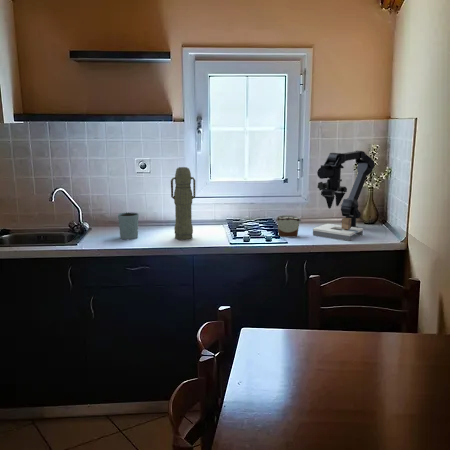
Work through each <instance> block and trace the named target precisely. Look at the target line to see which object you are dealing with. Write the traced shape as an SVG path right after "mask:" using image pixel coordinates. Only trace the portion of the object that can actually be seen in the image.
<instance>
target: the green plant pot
mask: <svg viewBox="0 0 450 450" xmlns="http://www.w3.org/2000/svg"><path fill="white" fill-rule="evenodd" d="M139 215H140V214H139V213H138V212H121V213H118V214H117V218H118V227H119V236H120V237H119V238H120V239H121V240H125V241H126V240H128V241H130V240H133V241H134V240H137V239H138V238H139Z"/></svg>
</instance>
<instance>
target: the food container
mask: <svg viewBox="0 0 450 450" xmlns="http://www.w3.org/2000/svg"><path fill="white" fill-rule="evenodd" d="M300 222H302V220H301V217H300V216H297V215H293V214H292V215H290V214H287V215H285V214H284V215H279V216H278V215H277V217H276V223H277V232H278V233H277V234H278V237H279V236H281V237H283V238H284V237H286V238H298V237H299V236H298V234H299V228H300Z"/></svg>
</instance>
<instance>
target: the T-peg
mask: <svg viewBox="0 0 450 450" xmlns="http://www.w3.org/2000/svg"><path fill="white" fill-rule="evenodd" d="M341 225H342V228H341V229H344V230H348V229H350V228H351V218H346V217H343V218H341Z"/></svg>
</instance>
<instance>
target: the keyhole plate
mask: <svg viewBox="0 0 450 450" xmlns="http://www.w3.org/2000/svg"><path fill="white" fill-rule="evenodd" d="M341 228H342V224H333V223H324V224H322V225H319V226H316V227H314V228H312V236H316V237H322V238H327V239H328V238H329V239H333V240H340V241H348V242H349V241H350V242H351V241H352V236H353V235H354V234H355V235H354V236H360V235H361V236H364V235H363V234H364V228H363V227H358V228H356V227H351V228H350V229H348V230H344V229H341Z"/></svg>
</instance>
